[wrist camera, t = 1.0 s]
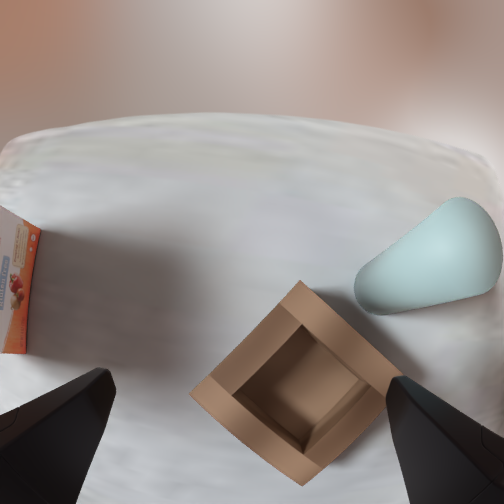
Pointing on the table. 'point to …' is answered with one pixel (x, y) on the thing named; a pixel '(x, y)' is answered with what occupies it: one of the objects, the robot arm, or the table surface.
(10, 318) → the cracker box
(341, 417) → the socket base
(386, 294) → the column
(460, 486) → the robot arm
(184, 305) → the table surface
